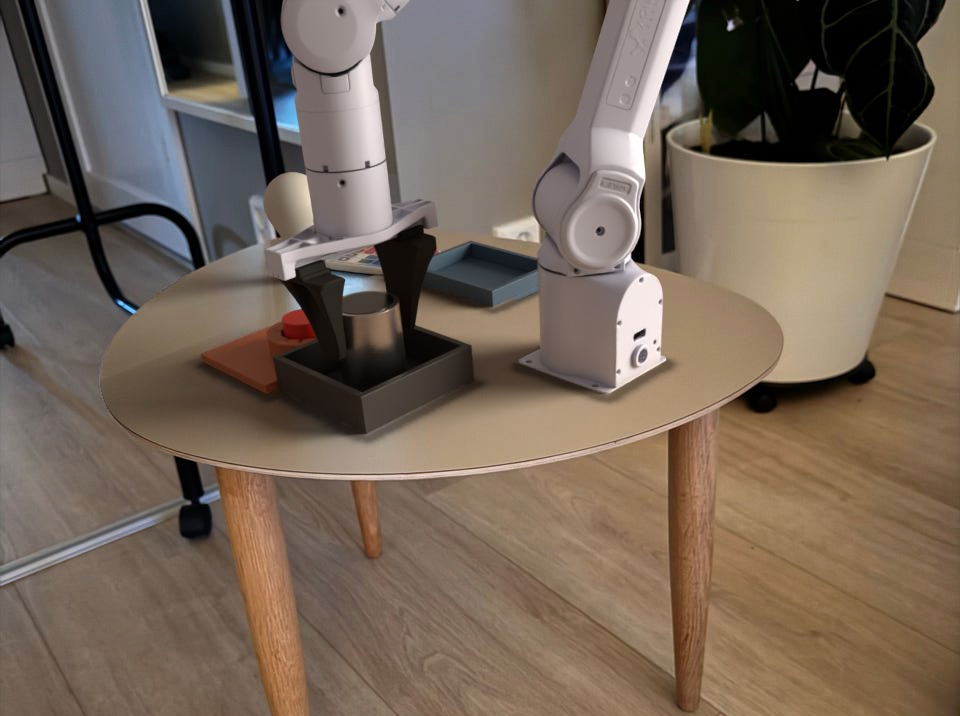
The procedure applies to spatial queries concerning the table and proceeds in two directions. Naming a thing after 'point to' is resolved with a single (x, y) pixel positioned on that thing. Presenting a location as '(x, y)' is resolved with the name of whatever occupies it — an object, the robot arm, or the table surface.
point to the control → (253, 357)
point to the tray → (483, 273)
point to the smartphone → (359, 262)
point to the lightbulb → (288, 204)
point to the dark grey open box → (428, 377)
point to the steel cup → (372, 339)
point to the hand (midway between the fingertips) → (370, 340)
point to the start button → (297, 326)
